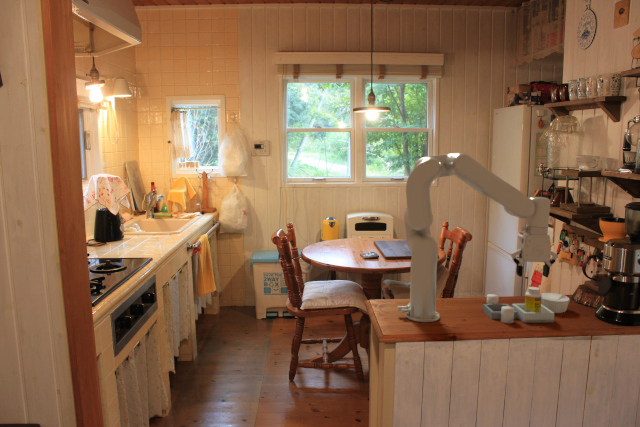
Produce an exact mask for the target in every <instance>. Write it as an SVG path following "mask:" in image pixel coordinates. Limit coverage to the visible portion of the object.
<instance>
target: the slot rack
mask: <svg viewBox="0 0 640 427" xmlns="http://www.w3.org/2000/svg"><path fill="white" fill-rule="evenodd" d="M499 297H500V296H499V295H497V294H494V293H488V294H487V295H486V303H483V304H482V311H483V313H485V314H486V315H487V317H489V318H490V319H491V320H495V319H496V320H500V322H502V323H503V324H504V323H505V324H513V323H514V321H515V319H518V317H517V311H516V310H514V308H513V307H512V305H510V304H508V303H499V299H500V298H499Z"/></svg>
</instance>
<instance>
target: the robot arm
mask: <svg viewBox="0 0 640 427" xmlns="http://www.w3.org/2000/svg"><path fill="white" fill-rule="evenodd" d="M450 176H451V177H452V176H455V177H456V178H458V179H460V180H461V181H462V182H463V183H465V184H466V185H467V186H469V187H471V188H472V189H473V190H474V191H476V192H477V193H479V194H480V195H482V196H484V197H486V198H488V199H491V200H493V201H495V202H497V203H498V204H500V205H501V206H502V207H503V209H504V212H506V213H507V214H509V215H511V216H513V217H516V218H519V219H521V220H522V219H523V220H524V219H525V225H524V226H522V227H521V231H523V232H524V233H523V234H522V237H521V241H520V246H519V249H517V250H515V251H512V252H510V257H511V260H512V261H513V263H515V265H516V269H515V273H516V276H518V277H521V278H522V277H523V272H524V271H523V270H524V266H523V265H524V264H525V262H528V263H544V265H542V276H543V277H545V278H549V275H550V269H551V267H552V266H553V265H554V263H556V261H557V259H558V258H559V255H558V254H557V253H555V252H554V251H552V242H551V237H550V234H548V232H549V221H550V220H549V219H550V210H551V200H550V199H549V198H548V197H543V196H531V197H529V196H527V195H526V194H525V193H524V192H522V191H520V190H519V189H518V188H516V187H515V186H513V185H511V184H510V183H508V182H507V181H505V180H504V179H502V178H501V177H499V176H498V175H496V174H495V173H493V172H492V171H491V170H489V169H488V168H486V166H484V165H483V164H481V163H480V162H478V160H476V159H474V158H473V157H471V155H469V154H467V153H465V152H464V153H463V152H451V153H446V154H437V155H428V156H423V157H420V158H419V159H417V160H416V162H414V167H413V169H412V171H411V172H410V173H409V175H408V178H407V180H406V184H405V196H406V209H405V211H404V214H403V220H404V231H405V237H406V243H407V247H408V249H409V251H410V252H411V261H410V275H409V276H410V278H409V280H410V282H409V284H410V285H409V286H410V289H409V291H410V292H409V302H408V303H407V305H405V306H403V305H397V308H396V309H397V312H401V313H405V317H406V318H407V319H408V320H411V321H413V322H419V323H433V322H437V321H438V320H440V317H441V315H440V313H439V312H437V311H436V310H437V308H436V306H437V302H436V301H437V269H438V259H439V246H438V243H437V241H436V239H435V237H433V236H432V233H431V227H432V225H433V221H434V216H433V211H432V204H431V194H430V193H431V190H430V189H431V186H432V184H433V182H434V181H435V180H437V179H438V178H444V177H450ZM517 256H518V257H519V258H517Z"/></svg>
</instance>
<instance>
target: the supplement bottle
mask: <svg viewBox="0 0 640 427" xmlns="http://www.w3.org/2000/svg"><path fill="white" fill-rule="evenodd" d="M540 290H541V289H540V288H539V287H537V286H536V287H535V286H529V287H528V288H527V291H526V292H525V297H524V304H525V312H541V298H542V295H541V294H540Z"/></svg>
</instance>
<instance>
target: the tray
mask: <svg viewBox="0 0 640 427" xmlns="http://www.w3.org/2000/svg"><path fill="white" fill-rule="evenodd" d="M511 307H513V308H514V310H516V311H517V319H519V320H520V321H521V322H522V323H526V324H527V323H555V313H554V312H552V311H551V310H549V309H548V308H546V307H545V306H543V305H542V304H541V312H525V303H512V304H511Z"/></svg>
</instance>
